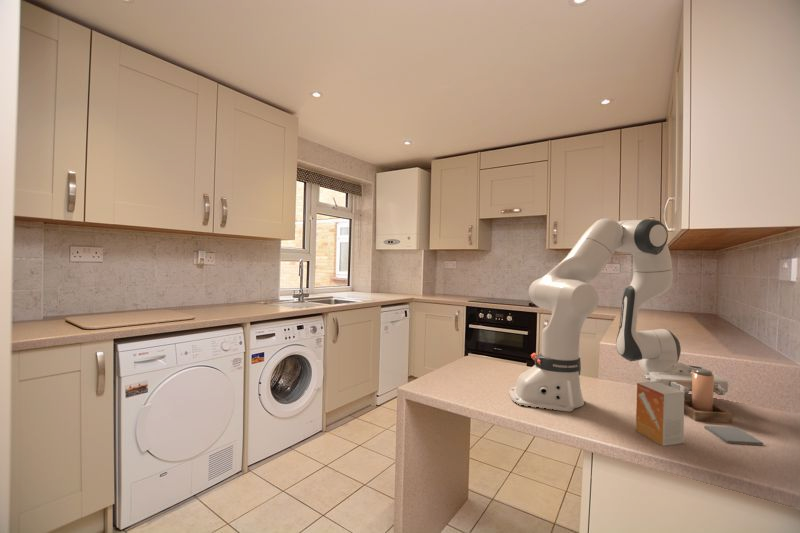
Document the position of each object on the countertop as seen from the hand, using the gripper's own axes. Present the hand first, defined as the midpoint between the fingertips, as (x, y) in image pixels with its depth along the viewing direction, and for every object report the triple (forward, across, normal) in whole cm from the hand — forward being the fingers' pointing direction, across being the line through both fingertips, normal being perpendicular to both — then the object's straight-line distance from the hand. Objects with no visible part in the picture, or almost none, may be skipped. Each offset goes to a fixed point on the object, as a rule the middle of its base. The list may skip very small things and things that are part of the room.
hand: (704, 391), depth 106 cm
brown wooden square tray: (-1, 0, +7) cm, 7 cm away
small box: (+15, -20, +7) cm, 26 cm away
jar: (-1, 0, +7) cm, 7 cm away
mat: (+12, -1, +7) cm, 14 cm away
